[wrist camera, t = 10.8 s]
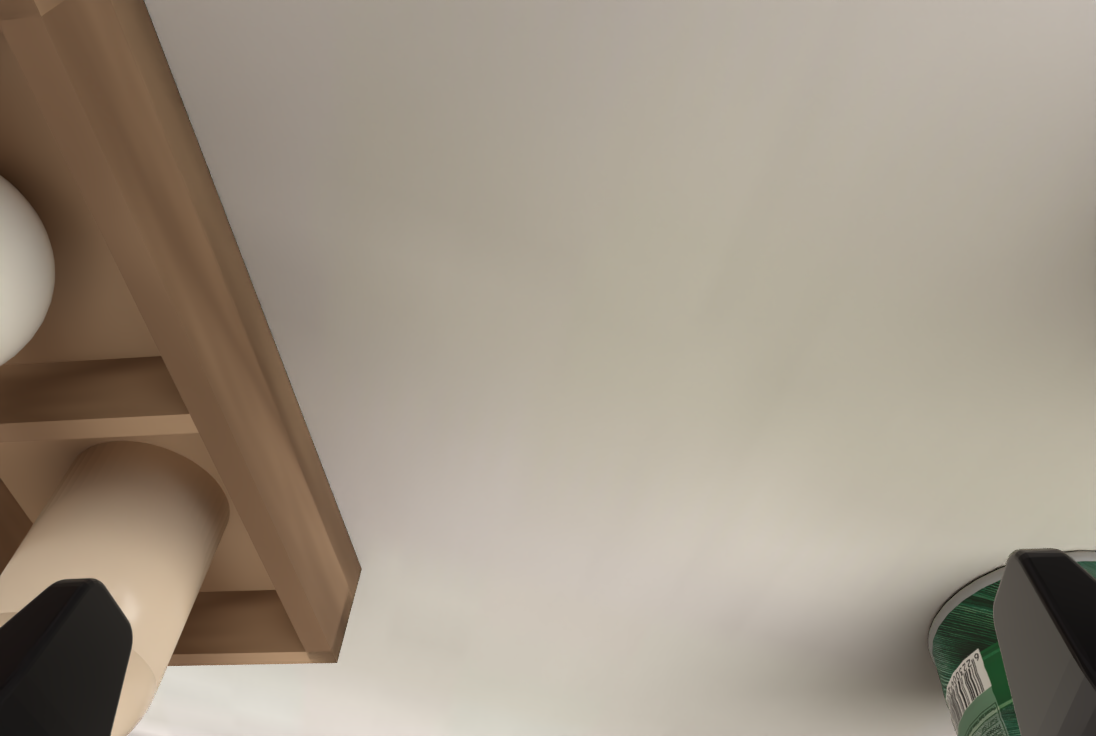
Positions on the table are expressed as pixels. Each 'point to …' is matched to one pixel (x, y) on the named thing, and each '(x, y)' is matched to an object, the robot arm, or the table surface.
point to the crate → (156, 332)
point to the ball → (22, 271)
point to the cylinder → (127, 550)
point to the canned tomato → (978, 657)
